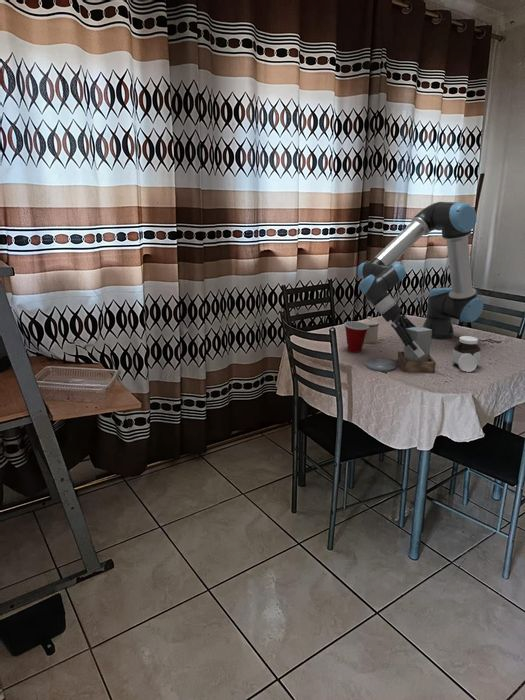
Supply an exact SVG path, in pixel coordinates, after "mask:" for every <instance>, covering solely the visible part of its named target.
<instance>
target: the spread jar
mask: <svg viewBox="0 0 525 700" xmlns="http://www.w3.org/2000/svg"><path fill="white" fill-rule="evenodd" d="M478 343H479V339H478V338H477V337H474V336H471V335H469V336H468V335H463V336H460V337H459V340H458V342H457V343H456V344H455V345H454V346H453V351H452V358H451V361H452V363H453V364H454V365H455V366H456V367H457V366H458V367H457V368H459V369H460V370H462V371H463V372H465V371H466V372H467V373H469V372H473V371H475V369H476V368H477V366H478V364H479V363H480V360H481V354H482V349H481V346H480V345H479V344H478ZM466 372H465V373H466Z"/></svg>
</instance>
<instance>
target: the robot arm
mask: <svg viewBox="0 0 525 700" xmlns="http://www.w3.org/2000/svg"><path fill="white" fill-rule="evenodd" d="M476 223H477V213H476V209H475V208H474V207H473V205H471V204H470V203H467V202H462V201H457V202H456V201H453V202H452V201H449V202H448V201H437V202H433V203H432V204H430V205H428V206H425V208H423V209H422V210H420V211H419V212H418V213H417V214H416V215H414V216H413V217H412V218H411V220H410V223H409V224H408V225H407V226H406V227H405V228H404V229H403V230H402V231H401V232H400V233H398V235H396V236H395V238H393V239H391V241H390V242H389V243H388V244H387V245H386V246H385V247H384V248H383V249H382V250H381V251H379V252H378V254H377V255H375V256H374V257H373V258H372V259H371V260H370V261H365V262H362V263H360V264H359V265H358V268H357V275H358V277H359V278H360V279H362V280H361V281H360V282H359V284H358V288H359V290H360V291H361V292H362V294H363V295H364V296H365V297H366V298H367V300H368V301H369V303H370V304H372V306H373V307H374V308H375V310H376V311H378V313H379V314H381V315H382V316H381V317H382V318H383V319H384V321H386V322H390V321H391V322H392V323H391V324H390V326H391V327H392V329H394V331H395V332H396V334H397V336H398V337H399V339H400V340H401V342H402V343H403V345H404V347H405V346H407V345H408V346H409V347H410V348H411V349H412V351H413V352H414V353H415V354H416V355H417V357H418V358H420V357H421V356H423V355H424V354H425V353H424V352H423V351H422V350H421V349H420V347H419V346H418V345H417V344H416V343H415V341H412V339H411V337H410V335H409V333H408V332H407V330H406V328H412V327H417V326H416V325H415V324H414V323H413V322H412V321H410V319H409V318H408V317H407V316H406V314H402V315H401V312H402V311H403V310H402V308H401V307H400V306H399V304H398V303H396V301H395V299H394V298H393V297H392V296H391V295H390V294H389V292H388V291H389V290H391V289H392V288H393V287H395V286H396V285H398V284H399V283H401V281H402V280H404V278H406V276H407V275H406V274H407V271H406V268H405V267H404V266H403V265H402V264H401V263H400V262H396V261H397V260H398V259H399V258H400V257H402V255H403V256H404V254H405V253H406V252H407V251H408V250H409V249H410V248H411V247H412V246H413V245H415V243H416V242H417V241H419V240H420V239H421V238H422V236H427V235H428V234H429V233H431V232H432V231H437V230H438V231H439V230H440V231H441V236H442V237H441V238H443V239H444V240H445V241H446V247H447V249H446V250H447V258H448V259H447V260H448V266H449V276H450V285H451V287H435V288H431V289H430V290H429V291H428V297H427V299H428V300H427V308H426V309H427V310H426V318H425V319H424V320H425V321H424V322H423V325H422V327H424V328H428V329H431V330H432V336H431V339H437V340H441V339H443V340H445V339H451V338H453V337H454V334H455V331H454V327H453V325H454V324H453V320H452V319H454V320H458V321H461V322H466V323H472V322H474V321H476V320H477V319H478V318H479V317H480V316H481V314H482V312H483V309H484V300H483V299H481V298H480V297H478V296H477V289H476V288H474V287H473V282H472V281H473V280H472V269H471V257H470V248H469V247H470V246H469V236H470V235H471V234H472V230H473V229H474V227H475V225H476Z"/></svg>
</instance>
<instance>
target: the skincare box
mask: <svg viewBox="0 0 525 700" xmlns="http://www.w3.org/2000/svg"><path fill="white" fill-rule="evenodd" d="M406 330H407V332H408V333H409V335H410V337H411V339H412V341H415V343H416V344H417V345H418V346H419V347H420V349H421V350H422V351H423V352H424V353H425V354H424V355H423V356H421V357H420V358H418V357H417V355H416V354H415V353H414V352H413V351H412V349H411V348H410V347H409V346H408V345H407V346H405V345H404V351H403V352H404V358H405V359H406V361H421V362H429V355H430V356H431V344H432V338H431V336H432V330H431V329H428V328H424V327H423V326H416V327H412V328H406Z"/></svg>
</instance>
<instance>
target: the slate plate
mask: <svg viewBox="0 0 525 700" xmlns="http://www.w3.org/2000/svg"><path fill="white" fill-rule="evenodd" d="M365 367H366V368H367V369H369V370H371V371H376V372H391V371H395V370H396V368H397V363H396V362H394V361H392V359H391V360H390V359H385V358H371V359H368V360H366V361H365ZM394 369H395V370H394Z"/></svg>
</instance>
